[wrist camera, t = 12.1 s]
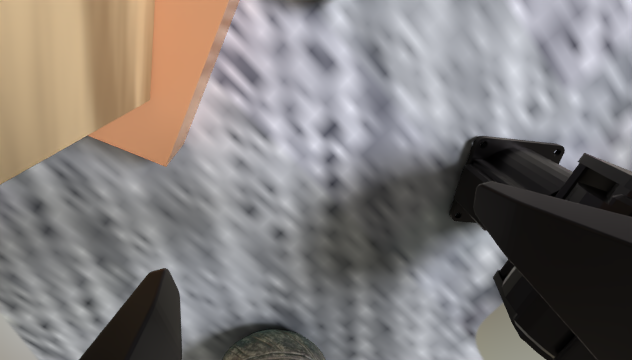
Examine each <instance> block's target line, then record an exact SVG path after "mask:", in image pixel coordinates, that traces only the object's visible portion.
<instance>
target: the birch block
mask: <svg viewBox="0 0 632 360" xmlns="http://www.w3.org/2000/svg"><path fill="white" fill-rule="evenodd" d="M154 7H155V0H0V184H2V183H4V182H6V181H7V180H9V179H11V178H13V177H15V176H16V175H18V174H20V173H22V172H23V171H25V170H27V169H29V168H31V167H32V166H34V165H36V164H38V163H39V162H41V161H43V160H45V159H46V158H48V157H50V156H52V155H54V154H55V153H57V152H59V151H61V150H62V149H64V148H66V147H68V146H70V145H71V144H73V143H75V142H77V141H78V140H80V139H82V138H84V137H86V136H87V135H89V134H91V133H93V132H94V131H96V130H98V129H100V128H101V127H103V126H105V125H107V124H109V123H110V122H112V121H114V120H116V119H117V118H119V117H121V116H123V115H125V114H126V113H128V112H130V111H132V110H133V109H135V108H137V107H139V106H141V105H142V104H144V103H146V102H148V101H149V100H150V91H151V70H152V49H153V28H154Z"/></svg>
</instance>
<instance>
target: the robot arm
mask: <svg viewBox="0 0 632 360" xmlns="http://www.w3.org/2000/svg"><path fill="white" fill-rule="evenodd" d="M482 142H484V144H483V145H482V146H480V144H481V143H482ZM555 150H557V151H556V152H555V153H554V151H555ZM564 151H565V150H564V147H563V146H561V145H558V144H554V143H545V142H535V141H526V140H516V139H507V138H497V137H488V136H480V137H478V138H476V139H475V141H474V143H473V146H472V149H471V152H470V155H469V157H468V160H467V163H466V166H465V167H464V169H463V171H462V174H461V177H460V180H459V183H458V186H457V189H456V192H455V195H454V201H453V204H452V207H451V210H450V213H449V215H450V217H451V218H452V219H453V220H454V221H460V222H475V223H477V224H478V225H479V226H480V227H481V228H482V229H483V230H486V231H488V232H489V234H490V235H491V237H492V238H493V239H494V241H495V242H496V244H497V245H498V246H499V248H500V249H501V250H502V252H503V253H504V254H505V255H506V257H507V258H508V261H507V262H506V263H505V265H504V266H503V267H502V269H501V270H498V271H497V272H496V274H495V275H494V276H493V279H494V281H495V283H496V286H497V288H498V291H499V293H500V295H501V298H502V300H503V303H504V305H505V307H506V309H507V312H508V314H509V317H510V319H511V322H512V324H513V325H514V327H515V329H516V331H517V332H518V334H519V336H520V338H521V339H523V340H524V341H525V342H526V343H527V344H528V345H529V346H531V347H532V348H533V349H534V350H535V351H536V352H537V353H538V354H540V355H541V356H542V357H544V358H545V359H546V360H632V172H631V171H629V170H626V169H624V168H621V167H619V166H616V165H614V164H611V163H609V162H606V161H604V160H601V159H599V158H596V157H594V156H591V155H589V154H586V153H584V154H583V155H582V157H581V158H580V160H579V161H578V162H579V165H578V166H577V167H576V169H575V170H574V171H573V172H572V171H570V170H568V169H566V168H564V167H562V166H561V165H559V162H560V160H561V158H562V156H563V154H564ZM456 213H459V214H458V215H456ZM455 215H456V216H455ZM79 360H182V339H181V312H180V295H179V291H178V288H177V286H176V284H175V282H174V280H173V278H172V276H171V274H170V272H169V270H168V269H166V268H163V269H160V270H156V271H152V272H150V273H149V274H148V275H147V276H146V277H145V279H144V280H143V281H142V282H141V284H140V285H139V286H138V287H137V288H136V290H135V291H134V292H133V293H132V295H131V296H130V297H129V298H128V300H127V301H126V302H125V303H124V305H123V306H122V307H121V308H120V310H119V311H118V312H117V313H116V315H115V316H114V317H113V318H112V319H111V321H110V322H109V323H108V324H107V326H106V327H105V328H104V329H103V331H102V332H101V333H100V334H99V336H98V337H97V338H96V339H95V341H94V342H93V343H92V344H91V346H90V347H89V348H88V349H87V350H86V352H85V353H84V354H83V355H82V357H81V358H80V359H79Z"/></svg>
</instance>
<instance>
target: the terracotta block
mask: <svg viewBox="0 0 632 360" xmlns="http://www.w3.org/2000/svg"><path fill="white" fill-rule="evenodd" d="M239 1H240V0H155V7H154V28H153V49H152V70H151V91H150V100H149V101H148V102H146V103H144V104H142V105H141V106H139V107H137V108H135V109H133V110H132V111H130V112H128V113H126V114H125V115H123V116H121V117H119V118H117V119H116V120H114V121H112V122H110V123H109V124H107V125H105V126H103V127H101V128H100V129H98V130H96V131H94V132H93V133H91V134H89V135H88V136H90V137H93V138H95V139H98V140H100V141H103V142H105V143H108V144H110V145H113V146H115V147H118V148H120V149H123V150H125V151H128V152H130V153H133V154H135V155H138V156H140V157H143V158H145V159H148V160H150V161H153V162H155V163H158V164H160V165H163V166H165V167H166V166H167V165H168V164H169V162H170V161H171V160H172V158H173V157H174V156H175V155H176V153H177V152H178V151H179V149H180V148H181V147H182V146H183V144H184V142H185V139H186V137H187V134H188V132H189V129H190V127H191V124H192V121H193V119H194V116H195V114H196V111H197V109H198V106H199V103H200V101H201V98H202V96H203V93H204V91H205V88H206V86H207V83H208V80H209V78H210V75H211V73H212V70H213V68H214V65H215V62H216V60H217V57H218V55H219V52H220V50H221V47H222V44H223V42H224V39H225V37H226V34H227V32H228V29H229V27H230V24H231V21H232V19H233V16H234V14H235V11H236V9H237V6H238V3H239Z"/></svg>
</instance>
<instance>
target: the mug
mask: <svg viewBox="0 0 632 360" xmlns="http://www.w3.org/2000/svg"><path fill="white" fill-rule="evenodd" d="M222 360H325V358H324V356H323V354H322V353H321V351H320V350H319V349H318V348H317V347H316V346H315V345H314V344H313V343H312V342H311V341H309V340H308V339H306V338H305V337H303V336H302V335H300V334H298V333H296V332H291V331H284V330H277V329H268V330H263V331H259V332H255V333H252V334H251V335H248V336H247V337H245V338H243V339H241V340H240V341H238V342H236V343H235V344H234V345H233V346H232V347H230V349H229V350H228V351H227V352H226V354H225V355H224V357H223V358H222Z"/></svg>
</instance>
